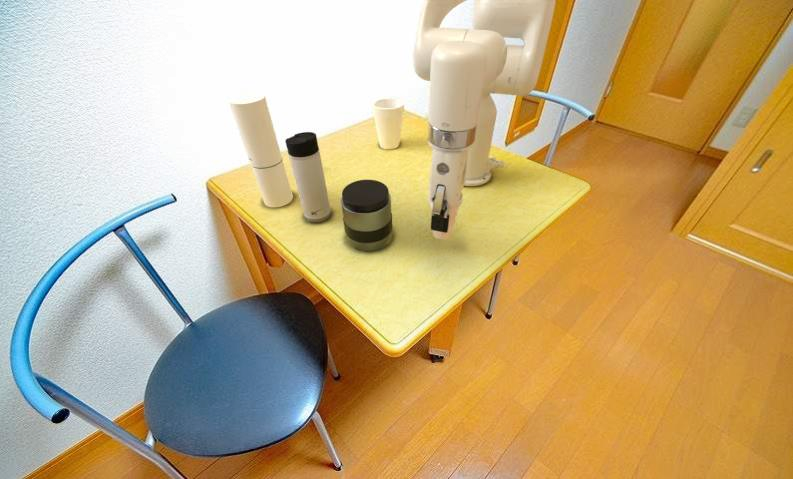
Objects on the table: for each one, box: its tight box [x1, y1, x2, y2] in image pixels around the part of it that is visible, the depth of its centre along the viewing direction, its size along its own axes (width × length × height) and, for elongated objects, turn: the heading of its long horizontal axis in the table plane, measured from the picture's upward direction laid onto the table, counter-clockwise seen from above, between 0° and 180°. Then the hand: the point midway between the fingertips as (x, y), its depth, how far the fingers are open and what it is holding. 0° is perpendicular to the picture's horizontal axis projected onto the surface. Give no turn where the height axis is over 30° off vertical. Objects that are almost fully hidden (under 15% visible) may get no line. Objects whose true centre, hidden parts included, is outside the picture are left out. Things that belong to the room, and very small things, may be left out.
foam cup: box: [371, 97, 405, 150], centre depth 100 cm, size 10×9×13 cm
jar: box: [340, 179, 393, 252], centre depth 68 cm, size 10×10×12 cm
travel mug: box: [285, 131, 332, 224], centre depth 71 cm, size 6×7×20 cm
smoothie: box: [427, 191, 464, 240], centre depth 62 cm, size 6×6×14 cm
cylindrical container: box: [227, 91, 294, 208], centre depth 74 cm, size 7×7×25 cm
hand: (443, 218), depth 64 cm, fingers closed on smoothie, 6 cm apart
